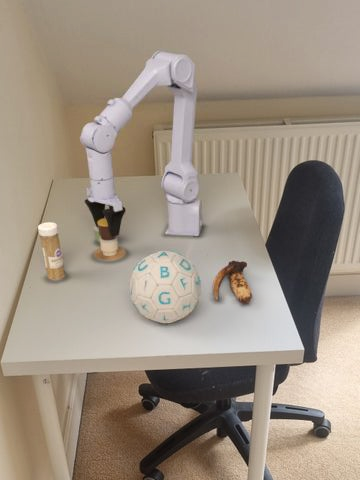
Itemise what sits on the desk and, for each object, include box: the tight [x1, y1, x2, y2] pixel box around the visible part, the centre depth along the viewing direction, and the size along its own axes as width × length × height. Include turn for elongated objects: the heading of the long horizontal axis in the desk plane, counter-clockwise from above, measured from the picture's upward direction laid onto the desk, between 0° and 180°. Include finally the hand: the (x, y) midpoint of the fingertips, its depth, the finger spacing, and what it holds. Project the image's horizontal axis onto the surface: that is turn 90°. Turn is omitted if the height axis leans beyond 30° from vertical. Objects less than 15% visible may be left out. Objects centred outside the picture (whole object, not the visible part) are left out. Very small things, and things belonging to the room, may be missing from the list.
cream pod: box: [99, 235, 119, 256], centre depth 153 cm, size 5×5×4 cm
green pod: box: [93, 224, 101, 244], centre depth 161 cm, size 5×5×4 cm
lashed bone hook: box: [212, 260, 253, 305], centre depth 136 cm, size 9×5×18 cm
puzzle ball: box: [128, 250, 202, 325], centre depth 124 cm, size 15×15×15 cm
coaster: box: [93, 246, 127, 261], centre depth 155 cm, size 8×8×1 cm
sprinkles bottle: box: [37, 221, 66, 281], centre depth 142 cm, size 5×5×13 cm
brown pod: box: [97, 218, 116, 240], centre depth 151 cm, size 5×5×4 cm
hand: (107, 230), depth 151 cm, fingers open, 7 cm apart
